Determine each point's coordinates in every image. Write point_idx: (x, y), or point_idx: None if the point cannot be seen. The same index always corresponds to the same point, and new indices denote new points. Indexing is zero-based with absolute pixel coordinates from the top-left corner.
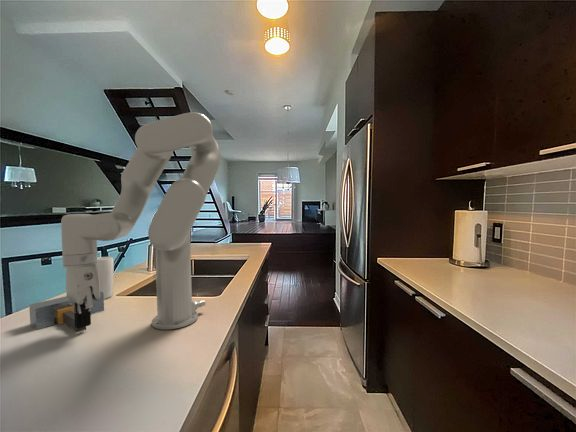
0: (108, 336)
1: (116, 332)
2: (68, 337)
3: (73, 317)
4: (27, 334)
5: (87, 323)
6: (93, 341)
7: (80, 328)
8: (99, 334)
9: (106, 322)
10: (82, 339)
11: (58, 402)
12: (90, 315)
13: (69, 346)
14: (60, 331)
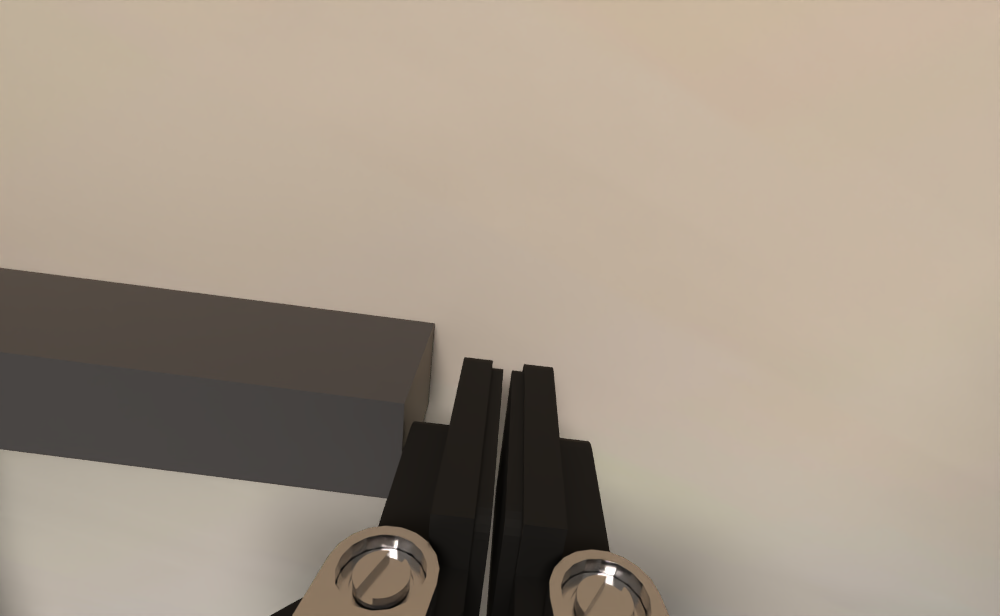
0: (952, 321)
1: (969, 205)
2: None
3: (174, 452)
4: (59, 597)
5: (588, 444)
6: (874, 454)
7: (425, 393)
8: (772, 336)
9: (447, 48)
10: (696, 473)
11: None
12: (560, 454)
13: (724, 580)
14: None
